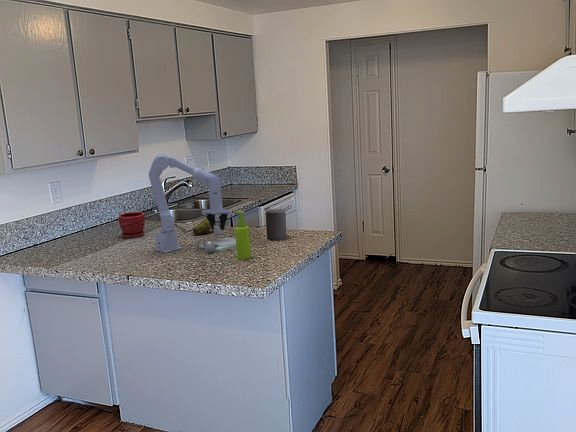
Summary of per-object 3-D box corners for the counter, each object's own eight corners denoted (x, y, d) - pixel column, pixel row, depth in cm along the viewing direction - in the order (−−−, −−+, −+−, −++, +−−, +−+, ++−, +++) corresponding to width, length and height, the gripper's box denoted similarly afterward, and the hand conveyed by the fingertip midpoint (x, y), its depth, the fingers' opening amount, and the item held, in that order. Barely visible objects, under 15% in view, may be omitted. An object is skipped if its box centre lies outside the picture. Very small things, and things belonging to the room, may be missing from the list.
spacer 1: (209, 254, 245) (208, 243, 244) (203, 252, 248) (202, 242, 247) (216, 252, 248) (215, 241, 247) (211, 251, 250) (210, 240, 250)
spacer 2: (220, 235, 259) (219, 225, 258) (212, 235, 260) (211, 224, 260) (224, 233, 263) (223, 223, 262) (216, 233, 264) (215, 223, 263)
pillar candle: (264, 240, 264) (262, 209, 261) (270, 235, 273) (268, 205, 270) (283, 241, 261) (281, 209, 258) (289, 236, 270) (288, 205, 267)
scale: (219, 251, 248) (218, 246, 247) (199, 247, 259) (198, 242, 258) (247, 243, 259) (246, 239, 259) (227, 240, 270) (226, 235, 269)
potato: (191, 233, 290) (189, 218, 289) (215, 230, 294) (214, 215, 293) (194, 236, 282) (192, 221, 281) (219, 233, 287) (217, 218, 285)
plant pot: (116, 239, 287) (113, 216, 285) (129, 233, 300) (126, 211, 298) (139, 239, 284) (136, 216, 282) (151, 233, 297) (148, 211, 295)
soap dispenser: (242, 254, 240) (238, 209, 236) (254, 256, 236) (250, 210, 232) (232, 258, 236) (228, 211, 232) (244, 260, 231) (240, 213, 228)
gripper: (197, 203, 257) (200, 231, 260) (226, 202, 253) (229, 231, 256) (204, 200, 264) (207, 228, 267) (232, 199, 260) (235, 228, 262)
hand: (218, 229), depth 262 cm, fingers closed on spacer 2, 4 cm apart
